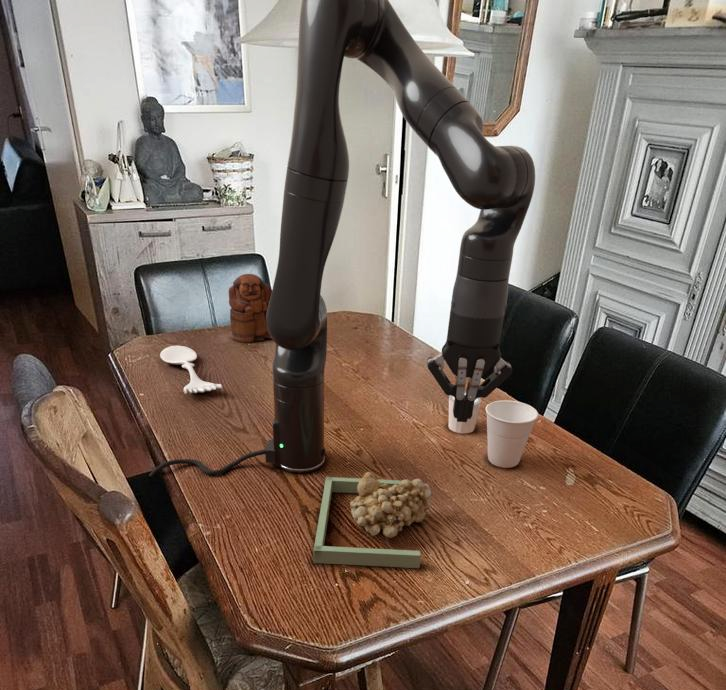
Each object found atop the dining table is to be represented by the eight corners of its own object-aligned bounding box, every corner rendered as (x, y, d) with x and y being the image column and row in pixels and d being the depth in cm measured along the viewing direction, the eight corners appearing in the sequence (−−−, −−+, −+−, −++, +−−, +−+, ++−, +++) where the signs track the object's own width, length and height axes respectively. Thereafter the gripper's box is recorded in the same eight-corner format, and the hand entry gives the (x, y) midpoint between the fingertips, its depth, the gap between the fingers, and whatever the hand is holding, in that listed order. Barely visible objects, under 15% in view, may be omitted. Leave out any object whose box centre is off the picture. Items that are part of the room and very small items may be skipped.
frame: (313, 563, 96) (313, 550, 95) (325, 488, 114) (326, 476, 113) (419, 568, 96) (420, 555, 95) (414, 492, 114) (416, 481, 113)
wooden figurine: (236, 344, 176) (231, 279, 167) (230, 337, 181) (225, 273, 172) (276, 339, 181) (274, 275, 171) (270, 332, 186) (267, 270, 176)
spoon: (185, 404, 142) (183, 390, 141) (157, 356, 166) (155, 344, 165) (224, 398, 146) (223, 384, 144) (191, 352, 170) (190, 340, 168)
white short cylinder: (476, 436, 134) (480, 406, 130) (444, 432, 135) (447, 402, 131) (477, 422, 139) (482, 393, 136) (447, 419, 140) (450, 390, 137)
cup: (518, 479, 119) (528, 427, 114) (470, 464, 124) (477, 413, 118) (535, 458, 127) (545, 408, 121) (489, 444, 131) (497, 395, 125)
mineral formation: (436, 514, 108) (403, 558, 96) (367, 504, 114) (327, 545, 102) (434, 471, 105) (399, 511, 93) (363, 464, 111) (321, 500, 99)
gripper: (521, 303, 91) (501, 412, 100) (429, 297, 91) (418, 406, 100) (530, 319, 84) (507, 434, 93) (431, 312, 85) (418, 427, 94)
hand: (461, 419), depth 97 cm, fingers closed
